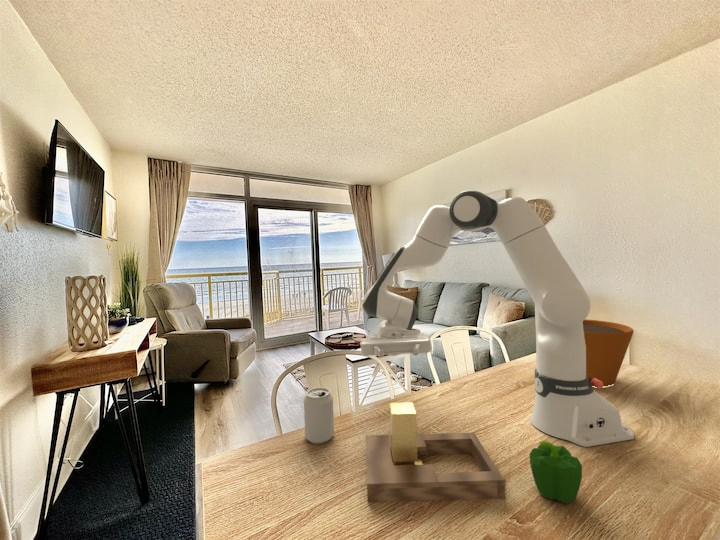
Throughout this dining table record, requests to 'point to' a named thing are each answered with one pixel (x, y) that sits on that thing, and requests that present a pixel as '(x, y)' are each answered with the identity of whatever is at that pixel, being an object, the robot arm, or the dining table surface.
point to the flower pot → (605, 349)
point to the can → (318, 415)
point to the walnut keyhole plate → (430, 471)
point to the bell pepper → (556, 472)
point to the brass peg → (404, 434)
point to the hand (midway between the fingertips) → (398, 353)
